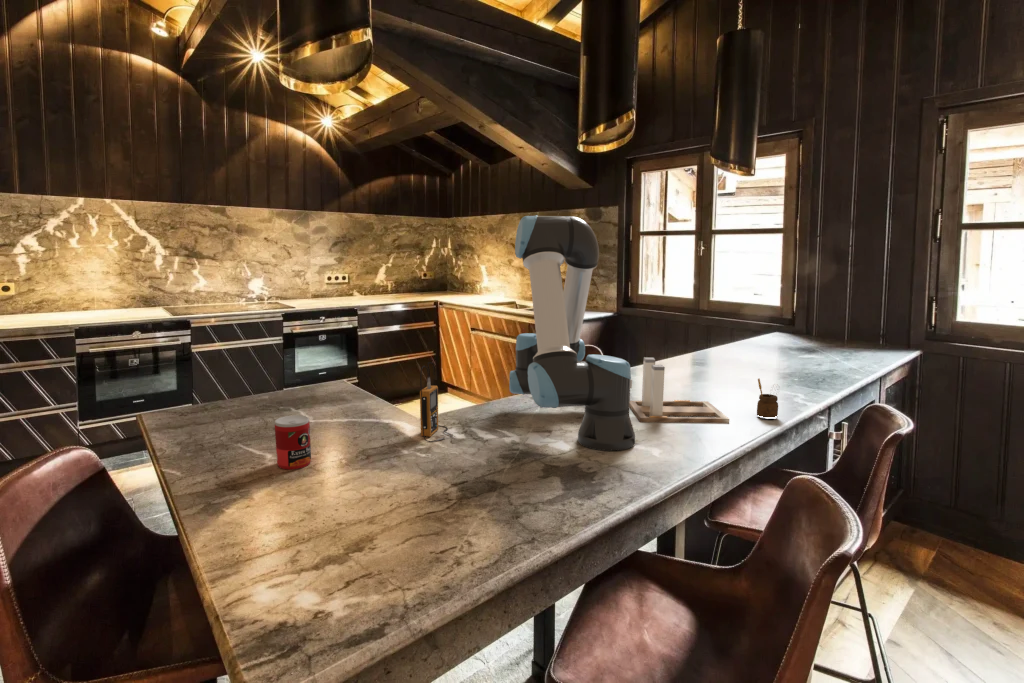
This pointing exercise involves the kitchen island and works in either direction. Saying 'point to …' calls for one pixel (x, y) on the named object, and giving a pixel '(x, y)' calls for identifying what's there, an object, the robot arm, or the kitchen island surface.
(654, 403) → the white rectangular block
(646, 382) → the tall white block
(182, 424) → the kitchen island surface
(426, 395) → the multimeter
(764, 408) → the utensil holder
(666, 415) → the wooden compartment tray
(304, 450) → the canned food
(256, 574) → the kitchen island surface
